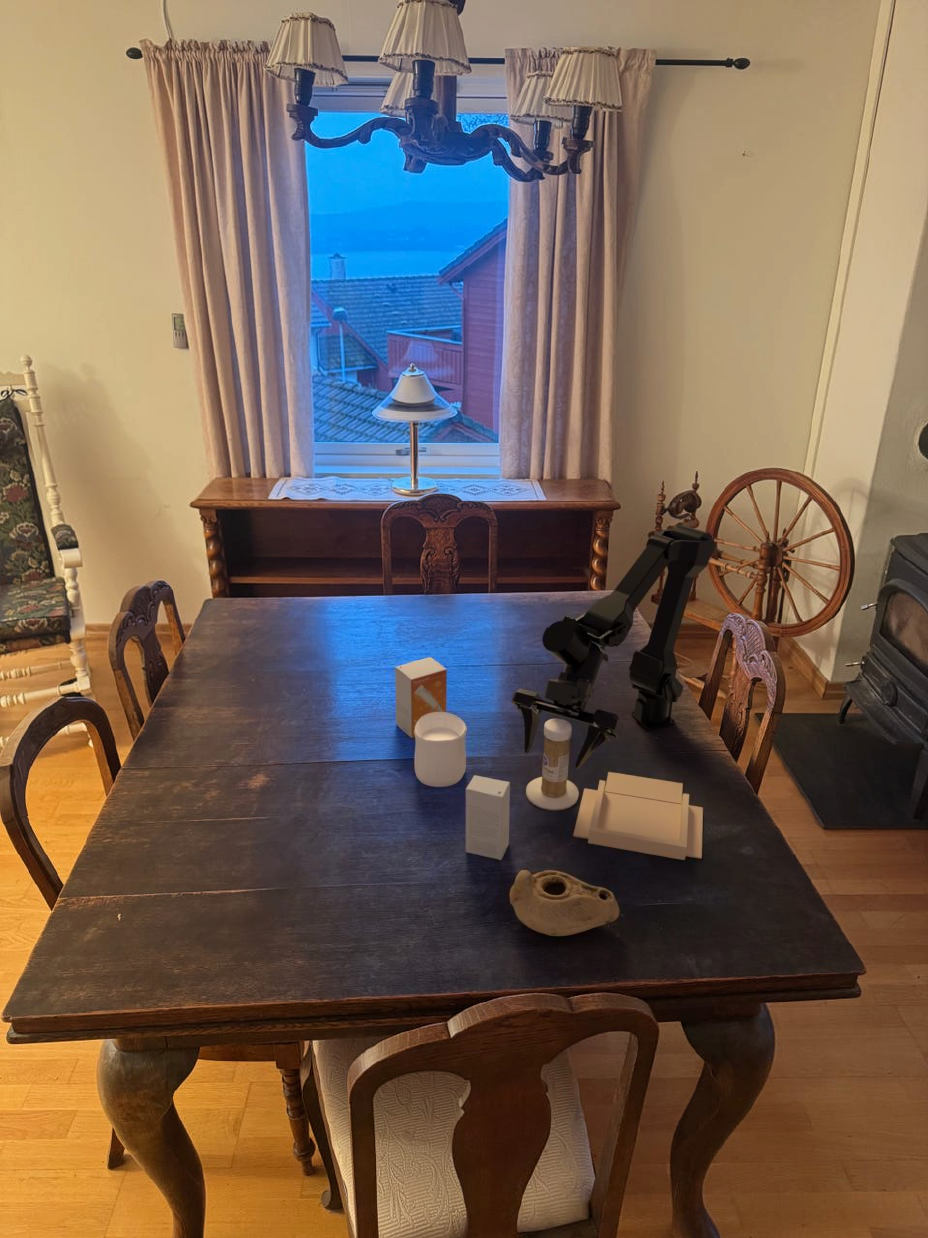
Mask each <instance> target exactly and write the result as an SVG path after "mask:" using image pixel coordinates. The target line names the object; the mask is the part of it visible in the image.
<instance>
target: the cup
mask: <svg viewBox="0 0 928 1238" xmlns="http://www.w3.org/2000/svg"><path fill="white" fill-rule="evenodd" d="M467 728H468V727H467V726H466V723H465V722H464V720H462V719H461V718H460V717H459V716H457V715H455V714H453V713H450V712H447V711H446V712H433V713H428V714H426V715H424V716H422V717H421V718H420V719H419V720H418V721H417V723H416V726H415V730H414V733H415V737H414V740H415V748H414V772H415V775H416V779H418V780H419V782H421V784H423V785H426V786H427V787H434V788H444V787H450V786H453V785H455V784H457V783H458V782H459V781H461V779H462V778H463V777H464V775H465V772H466V770H467V766H466V765H467V752H466V737H467V736H466V735H467V732H468V731H467V730H468V729H467Z"/></svg>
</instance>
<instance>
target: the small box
mask: <svg viewBox="0 0 928 1238" xmlns="http://www.w3.org/2000/svg"><path fill="white" fill-rule="evenodd" d="M447 672H448V671H447V668H446V667H444V666H443V665H442V664H440V663H439V662H438V661H437V660H435V659H433V658H432V657H431V656H430V657H425V658H421V659H419V660H413V661H409V662H408V663H404V664H401V665H398V666H394V682H395V686H394V687H395V721H396V723H395V724H396V726H397V727H398V728H399V729H400V730H401V731H403V732H404V733H405V734H406V735H407V736H408V737H409V738H411V739H415V733H414V730H415V726H416V723H417V721H418V720H419V719H420V718H421V717H422V716H424V715H426V714H428V713H433V712H447V691H448V690H447V688H448V687H447V683H448V682H447V680H448V679H447V678H448V677H447V676H448V673H447Z"/></svg>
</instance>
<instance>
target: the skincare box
mask: <svg viewBox="0 0 928 1238" xmlns="http://www.w3.org/2000/svg"><path fill="white" fill-rule="evenodd" d="M510 794H511V782H510V781H506V780H500V779H496V778H495V779H494V778H490V777H486V776H485V777H484V776H480V775H475V774H474V775H473V777H472V779H471V780H470V782H469V783H468V785H467V786H466V788H465V852H466V853H468V854H473V855H478V856H480V857H481V856H482V857H487V858H490V859H495V860H499V861H502V859H503V858H504V855H505V853H506V851H507V848H508V847H509V844H510V802H511V801H510V800H511V799H510V798H511V795H510Z"/></svg>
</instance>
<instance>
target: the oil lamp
mask: <svg viewBox="0 0 928 1238" xmlns="http://www.w3.org/2000/svg"><path fill="white" fill-rule="evenodd" d="M509 903H510V904H511V905H512V908H513V910H514V912H515V914H516V917H517V919H518V920H519V921H520V922H521V923H522V924H523V925H525V926H526V927H527V928H529V929H531V930H533V931H535V932H537V933H540V934H545V935H546V936H550V937H564V936H570V935H571V936H572V935H575V934H579V933H582V932H586V931H588V930H591V929H594V928H598V927H601V926H603V925H606V924H609V923H611V922H614V921H616V920H617V919H618V918H619V916H620V907H619V905H618V902H617V900H616V898H615V895H614V893H613V892H612V891H610V890H609V889H607V888H605V887H602V886H597V885H596V886H595V885H591V884H589V883H587V882H585V881H582V880H580V879H578V878H577V877H575V876H572V875H570V874H569V873H566V872H563V871H559V870H551V869H549V870H543V871H540V872H536V873H535V874H532V873H531V872H530V870H527V869H524V870H523V869H522V870H520V871H519V872H518V874H517V875H516V877H515V880H514V883H513V885H511V886H510V890H509Z"/></svg>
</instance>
